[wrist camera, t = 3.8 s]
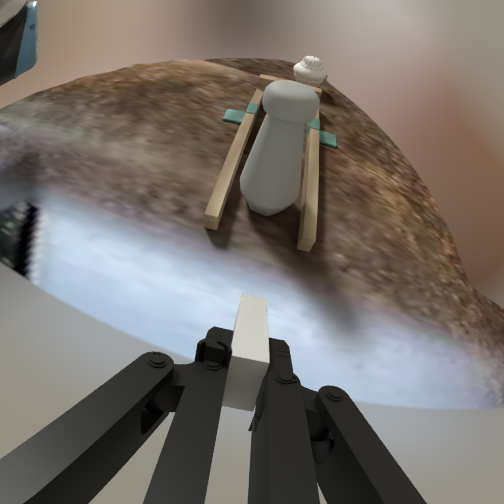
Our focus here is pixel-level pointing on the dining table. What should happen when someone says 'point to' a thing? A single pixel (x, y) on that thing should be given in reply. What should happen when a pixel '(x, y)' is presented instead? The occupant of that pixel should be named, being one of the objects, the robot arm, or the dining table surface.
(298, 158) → the salt shaker
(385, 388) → the dining table surface
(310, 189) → the guide rails
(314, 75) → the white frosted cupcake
